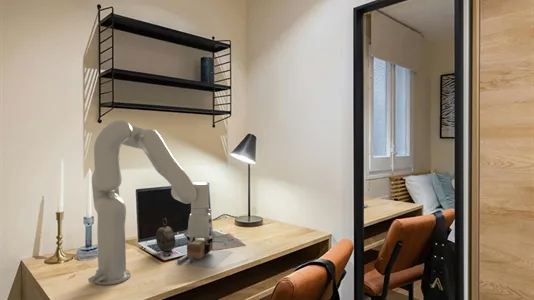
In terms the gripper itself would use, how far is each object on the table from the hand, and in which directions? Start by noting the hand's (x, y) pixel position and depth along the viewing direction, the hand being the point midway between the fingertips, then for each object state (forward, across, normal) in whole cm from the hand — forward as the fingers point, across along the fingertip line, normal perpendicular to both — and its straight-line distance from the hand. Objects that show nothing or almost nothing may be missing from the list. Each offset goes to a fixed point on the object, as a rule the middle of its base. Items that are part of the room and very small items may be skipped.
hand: (200, 251), depth 146 cm
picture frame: (+4, 0, -22) cm, 23 cm away
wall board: (+3, -2, 0) cm, 4 cm away
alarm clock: (+4, +20, -3) cm, 20 cm away
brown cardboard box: (+1, 0, 0) cm, 1 cm away
